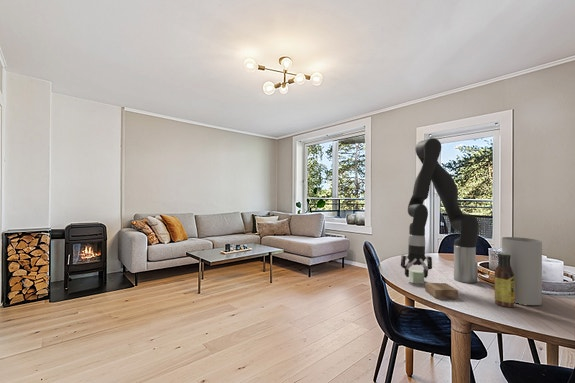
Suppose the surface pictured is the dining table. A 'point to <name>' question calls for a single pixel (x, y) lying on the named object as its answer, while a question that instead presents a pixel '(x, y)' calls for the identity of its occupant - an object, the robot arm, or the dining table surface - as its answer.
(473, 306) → the dining table surface
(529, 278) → the cylinder vase
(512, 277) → the sauce bottle
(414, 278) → the green cube
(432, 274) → the dining table surface
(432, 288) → the walnut base
